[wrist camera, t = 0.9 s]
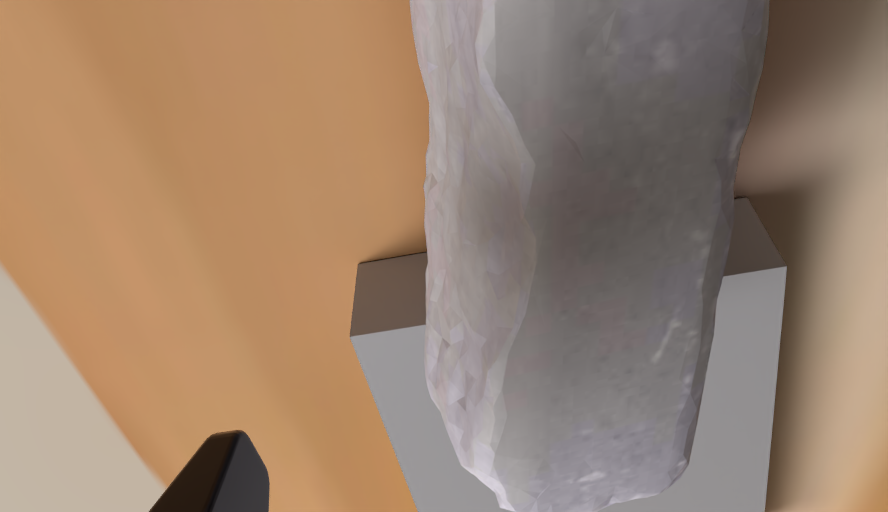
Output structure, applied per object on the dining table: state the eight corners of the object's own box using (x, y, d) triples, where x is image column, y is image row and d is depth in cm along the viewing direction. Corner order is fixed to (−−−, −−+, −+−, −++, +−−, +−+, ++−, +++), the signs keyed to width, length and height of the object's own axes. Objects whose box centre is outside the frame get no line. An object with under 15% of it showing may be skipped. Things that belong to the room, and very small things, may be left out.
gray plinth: (747, 197, 21) (787, 266, 19) (732, 523, 31) (757, 595, 29) (357, 264, 22) (349, 337, 20) (461, 557, 32) (464, 629, 30)
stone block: (601, 227, 22) (698, 556, 14) (430, 236, 22) (431, 567, 14) (646, -286, 14) (906, -204, 7) (388, -269, 15) (343, -168, 7)
